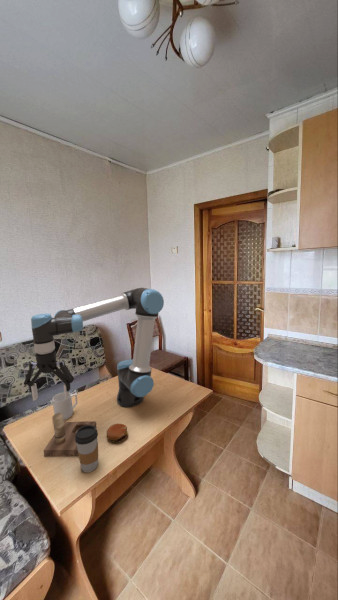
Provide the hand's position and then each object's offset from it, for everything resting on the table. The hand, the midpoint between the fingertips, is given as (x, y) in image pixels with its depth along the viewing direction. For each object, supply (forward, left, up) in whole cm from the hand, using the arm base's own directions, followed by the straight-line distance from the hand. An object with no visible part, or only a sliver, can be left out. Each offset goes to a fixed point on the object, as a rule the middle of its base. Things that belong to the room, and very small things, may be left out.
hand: (51, 398), depth 106 cm
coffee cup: (-19, +13, -22) cm, 31 cm away
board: (-6, -2, -21) cm, 22 cm away
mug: (+5, -20, -22) cm, 30 cm away
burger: (-26, -4, -22) cm, 34 cm away
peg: (-3, +3, -18) cm, 19 cm away
